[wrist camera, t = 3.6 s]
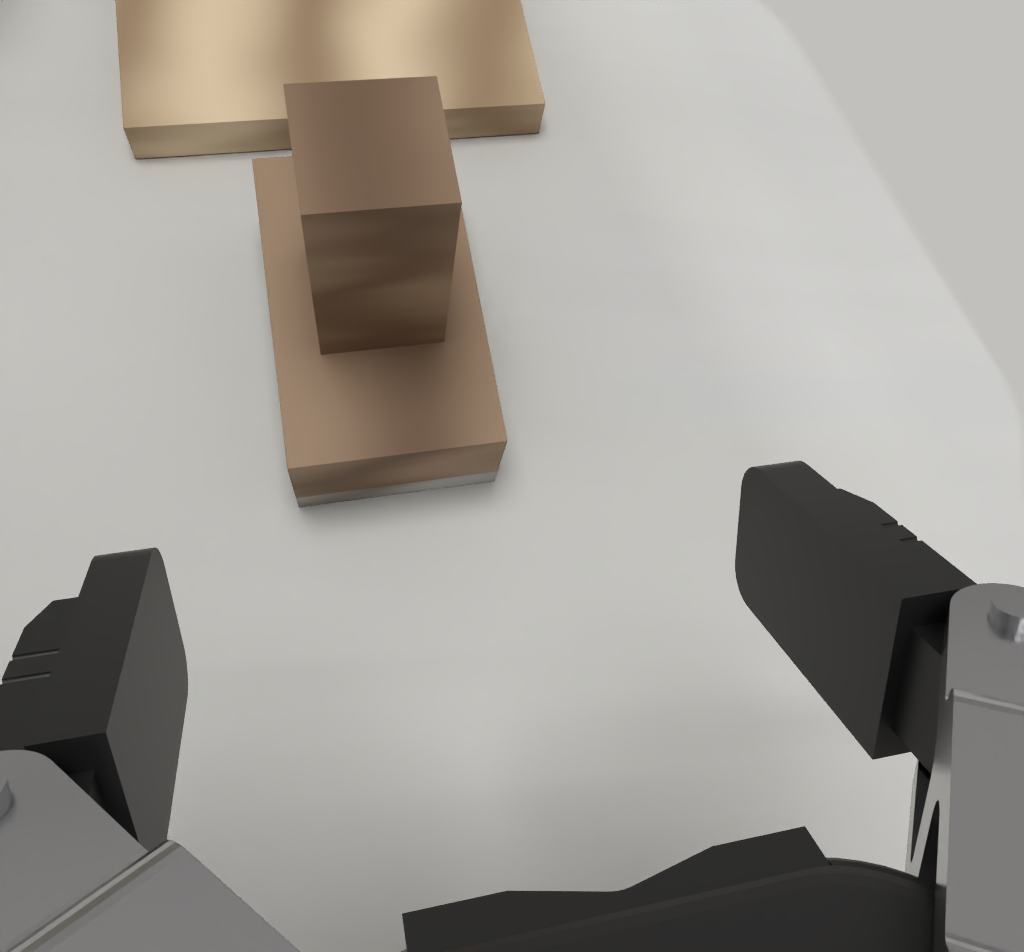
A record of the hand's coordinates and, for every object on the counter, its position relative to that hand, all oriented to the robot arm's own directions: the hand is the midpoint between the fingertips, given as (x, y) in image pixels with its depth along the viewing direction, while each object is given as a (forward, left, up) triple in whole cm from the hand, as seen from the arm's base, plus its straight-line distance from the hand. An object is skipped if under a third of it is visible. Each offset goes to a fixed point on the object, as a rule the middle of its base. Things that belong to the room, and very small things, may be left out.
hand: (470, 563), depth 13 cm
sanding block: (0, +11, -15) cm, 18 cm away
